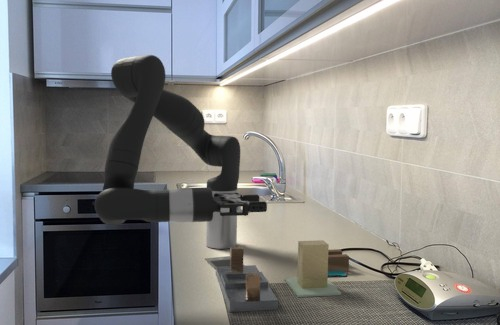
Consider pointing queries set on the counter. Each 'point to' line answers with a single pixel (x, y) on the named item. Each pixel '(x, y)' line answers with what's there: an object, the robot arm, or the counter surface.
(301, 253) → the brushed brass block
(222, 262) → the smartphone
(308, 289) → the pad
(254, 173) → the counter surface
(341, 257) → the phone stand
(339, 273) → the smartphone
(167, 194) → the robot arm
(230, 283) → the grey slotted base
